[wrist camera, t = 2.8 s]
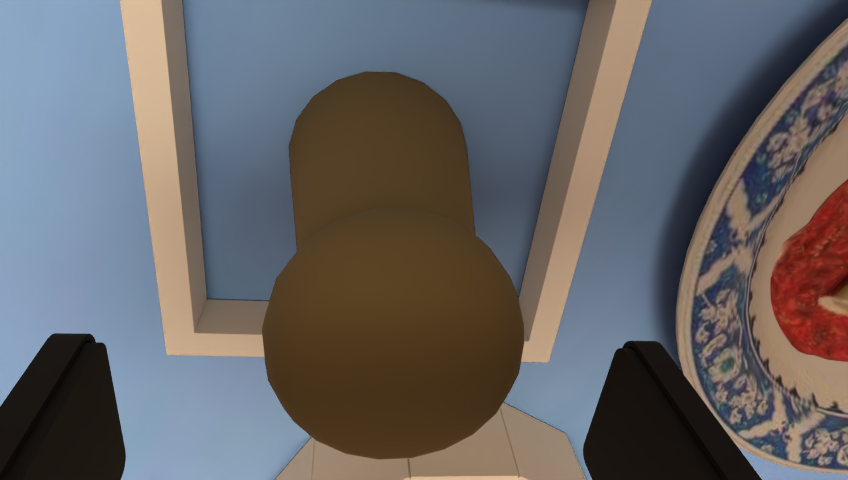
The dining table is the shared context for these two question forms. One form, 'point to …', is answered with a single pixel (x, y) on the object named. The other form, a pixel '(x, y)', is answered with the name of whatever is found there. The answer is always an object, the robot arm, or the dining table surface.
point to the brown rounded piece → (388, 278)
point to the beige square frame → (242, 320)
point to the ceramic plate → (778, 276)
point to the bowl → (456, 457)
